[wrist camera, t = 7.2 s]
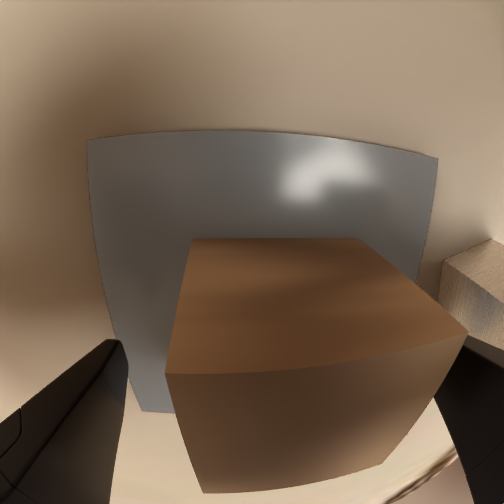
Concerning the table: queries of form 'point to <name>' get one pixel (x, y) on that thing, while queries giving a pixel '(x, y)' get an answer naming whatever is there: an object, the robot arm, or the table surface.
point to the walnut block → (300, 360)
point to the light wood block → (476, 291)
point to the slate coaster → (235, 216)
